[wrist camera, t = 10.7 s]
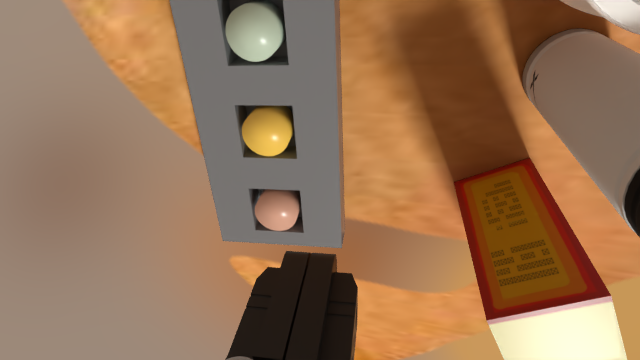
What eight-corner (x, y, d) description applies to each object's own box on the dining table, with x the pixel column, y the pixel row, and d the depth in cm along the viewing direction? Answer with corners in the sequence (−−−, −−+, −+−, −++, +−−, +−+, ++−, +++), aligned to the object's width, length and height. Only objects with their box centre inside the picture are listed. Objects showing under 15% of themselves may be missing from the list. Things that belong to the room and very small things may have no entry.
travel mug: (500, 83, 32) (616, 255, 16) (571, 9, 29) (818, 125, 12) (558, 127, 33) (725, 332, 17) (633, 61, 30) (937, 232, 13)
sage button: (233, -1, 31) (221, 5, 29) (284, -3, 31) (276, 3, 29) (241, 53, 33) (230, 62, 31) (289, 52, 33) (281, 61, 31)
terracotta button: (259, 179, 40) (251, 194, 37) (300, 181, 39) (295, 196, 37) (264, 213, 42) (257, 229, 39) (303, 215, 41) (298, 231, 39)
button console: (182, -29, 32) (164, -25, 29) (338, -36, 30) (333, -33, 27) (232, 222, 44) (222, 240, 41) (344, 228, 42) (341, 248, 40)
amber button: (248, 100, 35) (238, 111, 33) (293, 100, 35) (286, 112, 33) (254, 142, 38) (245, 155, 35) (297, 143, 37) (291, 156, 35)
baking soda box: (554, 239, 39) (639, 403, 26) (484, 256, 41) (528, 416, 28) (529, 157, 35) (614, 301, 22) (453, 182, 38) (487, 325, 24)
